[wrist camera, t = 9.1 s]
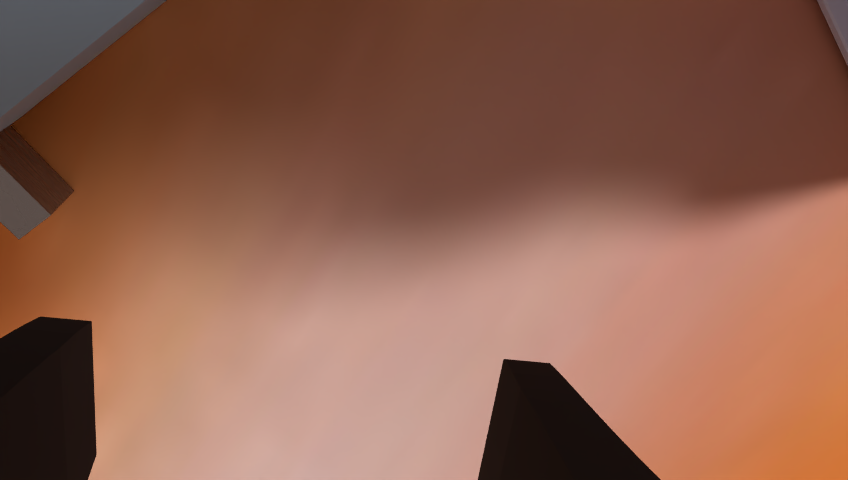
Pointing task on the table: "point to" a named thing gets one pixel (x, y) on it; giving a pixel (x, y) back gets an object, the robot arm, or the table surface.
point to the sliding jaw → (55, 44)
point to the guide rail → (26, 185)
